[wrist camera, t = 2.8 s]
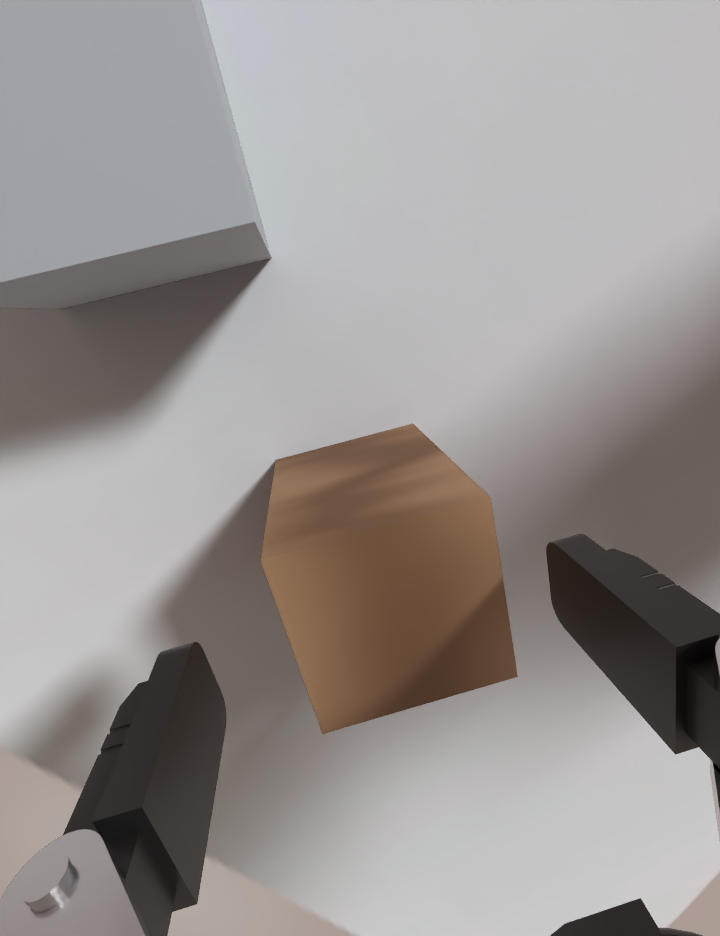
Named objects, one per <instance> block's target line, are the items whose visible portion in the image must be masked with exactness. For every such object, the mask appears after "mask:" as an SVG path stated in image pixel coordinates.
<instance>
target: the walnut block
mask: <svg viewBox="0 0 720 936" xmlns="http://www.w3.org/2000/svg"><path fill="white" fill-rule="evenodd" d="M260 561H261V563H262V566H263V569H264V572H265V575H266V577H267V580H268V583H269V586H270V589H271V591H272V594H273V597H274V600H275V603H276V605H277V608H278V611H279V614H280V617H281V619H282V622H283V625H284V628H285V630H286V633H287V636H288V639H289V642H290V644H291V647H292V650H293V653H294V656H295V658H296V661H297V664H298V667H299V670H300V672H301V675H302V678H303V681H304V684H305V686H306V689H307V692H308V695H309V697H310V700H311V703H312V706H313V709H314V711H315V714H316V717H317V720H318V723H319V725H320V728H321V731H322V734H324V733H327V732H331V731H334V730H338V729H341V728H344V727H348V726H351V725H355V724H358V723H361V722H365V721H368V720H372V719H375V718H378V717H382V716H385V715H389V714H392V713H395V712H399V711H402V710H406V709H409V708H413V707H416V706H419V705H423V704H426V703H430V702H433V701H436V700H440V699H443V698H447V697H450V696H453V695H457V694H460V693H464V692H467V691H470V690H474V689H477V688H481V687H484V686H487V685H491V684H494V683H498V682H501V681H504V680H508V679H511V678H515V677H518V676H517V670H516V663H515V656H514V650H513V643H512V637H511V630H510V624H509V617H508V610H507V604H506V597H505V591H504V584H503V577H502V571H501V564H500V558H499V551H498V544H497V538H496V531H495V525H494V518H493V511H492V505H491V498H490V496H489V495H488V494H487V493H486V492H485V491H484V490H482V489H481V488H480V487H479V486H478V485H477V484H476V483H475V482H474V481H473V480H472V479H471V478H470V477H469V476H468V475H467V474H466V473H464V472H463V471H462V470H461V469H460V468H459V467H458V466H457V465H456V464H455V463H454V462H453V461H452V460H451V459H450V458H449V457H448V456H447V455H445V454H444V453H443V452H442V451H441V450H440V449H439V448H438V447H437V446H436V445H435V444H434V443H433V442H432V441H431V440H430V439H429V438H428V437H426V436H425V435H424V434H423V433H422V432H421V431H420V430H419V429H418V428H417V427H416V426H415V425H414V424H410V425H406V426H402V427H398V428H395V429H391V430H387V431H383V432H380V433H376V434H372V435H368V436H365V437H361V438H357V439H353V440H350V441H346V442H342V443H338V444H334V445H331V446H327V447H323V448H319V449H316V450H312V451H308V452H304V453H301V454H297V455H293V456H289V457H286V458H282V459H278V460H276V462H275V468H274V475H273V481H272V488H271V494H270V501H269V507H268V514H267V520H266V527H265V533H264V540H263V546H262V553H261V559H260Z"/></svg>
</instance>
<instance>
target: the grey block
mask: <svg viewBox="0 0 720 936" xmlns="http://www.w3.org/2000/svg"><path fill="white" fill-rule="evenodd" d="M270 258H271V254H270V251H269V247H268V243H267V240H266V236H265V232H264V229H263V225H262V221H261V218H260V214H259V210H258V207H257V203H256V199H255V196H254V192H253V188H252V185H251V181H250V177H249V174H248V170H247V167H246V163H245V159H244V156H243V152H242V148H241V145H240V141H239V137H238V134H237V130H236V126H235V123H234V119H233V115H232V112H231V108H230V104H229V101H228V97H227V93H226V90H225V86H224V82H223V79H222V75H221V71H220V68H219V64H218V60H217V57H216V53H215V49H214V46H213V42H212V38H211V35H210V31H209V27H208V24H207V20H206V17H205V13H204V9H203V6H202V2H201V0H0V308H24V309H63V308H67V307H72V306H76V305H80V304H84V303H88V302H92V301H96V300H100V299H105V298H109V297H113V296H117V295H121V294H125V293H129V292H133V291H138V290H142V289H146V288H150V287H154V286H158V285H162V284H166V283H171V282H175V281H179V280H183V279H187V278H191V277H195V276H199V275H204V274H208V273H212V272H216V271H220V270H224V269H228V268H233V267H237V266H241V265H245V264H249V263H253V262H257V261H261V260H266V259H270Z"/></svg>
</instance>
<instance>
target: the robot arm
mask: <svg viewBox="0 0 720 936" xmlns="http://www.w3.org/2000/svg"><path fill="white" fill-rule="evenodd" d="M546 553H547V563H548V572H549V582H550V591H551V600H552V605H553V608H554V611H555V613H556V615H557V617H558V619H559V621H560V623H561V624H562V626H563V627H564V628H565V629H566V630H567V632H568V633H569V634H570V635H571V636H572V637H573V638H574V639H575V641H576V642H577V643H578V644H579V645H580V646H581V647H582V649H583V650H584V651H585V652H586V653H587V654H588V655H589V657H590V658H591V659H592V660H593V661H594V662H595V663H596V665H597V666H598V667H599V668H600V669H601V670H602V671H603V672H604V674H605V675H606V676H607V677H608V678H609V679H610V680H611V682H612V683H613V684H614V685H615V686H616V687H617V688H618V690H619V691H620V692H621V693H622V694H623V695H624V696H625V698H626V699H627V700H628V701H629V702H630V703H631V704H632V706H633V707H634V708H635V709H636V710H637V711H638V712H639V713H640V715H641V716H642V717H643V718H644V719H645V720H646V721H647V723H648V724H649V725H650V726H651V727H652V728H653V729H654V731H655V732H656V733H657V734H658V735H659V736H660V737H661V739H662V740H663V741H664V742H665V743H666V744H667V745H668V747H669V748H670V749H671V750H672V751H673V752H674V753H675V754H678V753H681V752H685V751H688V750H691V749H694V748H697V747H700V749H701V750H702V751H703V752H704V753H705V754H706V755H707V756H708V757H709V758H710V759H711V761H710V774H711V781H712V788H713V796H714V803H715V810H716V818H717V825H718V832H719V840H720V614H719V613H717V612H716V611H715V610H713V609H712V608H710V607H709V606H707V605H706V604H704V603H703V602H702V601H700V600H699V599H697V598H696V597H694V596H693V595H691V594H690V593H689V592H687V591H686V590H684V589H683V588H681V587H680V586H676V585H675V584H674V582H673V581H671V580H670V579H668V578H667V577H666V576H664V575H663V574H659V573H658V571H657V570H655V569H654V568H653V567H651V566H650V565H648V564H647V563H645V562H644V561H642V560H641V559H640V558H638V557H635V556H632V555H630V554H627V553H624V552H621V551H618V550H616V549H609V550H605V549H603V548H602V547H600V546H599V545H598V544H596V543H595V542H594V541H592V540H591V539H590V538H588V537H587V536H585V535H583V534H578V535H575V536H571V537H568V538H564V539H561V540H557V541H554V542H550V543H548V545H547V549H546ZM225 728H226V708H225V702H224V698H223V695H222V693H221V690H220V688H219V686H218V683H217V681H216V679H215V676H214V674H213V672H212V669H211V667H210V665H209V662H208V660H207V658H206V655H205V653H204V651H203V649H202V647H201V645H200V644H199V643H197V642H194V643H191V644H187V645H184V646H180V647H177V648H173V649H170V650H166V651H163V652H161V653H160V654H159V655H158V657H157V659H156V662H155V665H154V667H153V670H152V672H151V675H150V677H149V680H148V681H146V682H142V683H139V684H138V685H137V686H136V687H135V689H134V690H133V691H132V692H131V693H130V695H129V696H128V697H127V698H126V700H125V701H124V702H123V703H122V704H121V706H120V707H119V710H118V712H117V714H116V716H115V719H114V721H113V723H112V725H111V728H110V734H107V737H106V739H105V741H104V743H103V746H102V748H101V754H100V755H98V757H97V759H96V762H95V764H94V766H93V768H92V771H91V773H90V775H89V777H88V780H87V782H86V784H85V786H84V789H83V791H82V793H81V795H80V798H79V800H78V802H77V804H76V807H75V809H74V812H73V814H72V816H71V818H70V820H69V823H68V825H67V827H66V829H65V832H64V834H63V836H61V837H59V838H57V839H56V840H54V841H52V842H51V843H50V844H48V845H47V846H45V847H44V848H43V849H41V850H40V851H39V852H38V853H37V854H36V855H35V856H33V857H32V858H31V859H30V860H29V861H28V862H27V863H26V864H25V865H24V866H23V867H22V869H21V870H20V871H19V872H18V874H17V875H16V876H15V877H14V879H13V880H12V881H11V883H10V884H9V886H8V887H7V889H6V891H5V892H4V894H3V895H2V897H1V900H0V936H167V934H168V929H169V924H170V919H171V914H172V912H173V911H176V910H179V909H182V908H186V907H189V906H192V905H195V904H197V901H198V895H199V889H200V883H201V877H202V871H203V864H204V858H205V852H206V846H207V840H208V833H209V827H210V821H211V815H212V809H213V803H214V796H215V790H216V784H217V778H218V772H219V765H220V759H221V753H222V747H223V741H224V735H225ZM551 936H702V935H699V934H696V933H692V932H687V931H682V930H676V929H671V928H658V927H657V925H656V923H655V922H654V920H653V918H652V917H651V915H650V913H649V912H648V910H647V908H646V907H645V905H644V903H643V902H642V900H641V898H640V899H637V900H634V901H631V902H628V903H625V904H622V905H619V906H616V907H613V908H610V909H607V910H604V911H601V912H598V913H596V914H593V915H590V916H587V917H584V918H581V919H578V920H575V921H572V922H569V923H566V924H564V925H563V926H562V927H560V928H559V929H558V930H557V931H555V932H554V933H553V934H552V935H551Z"/></svg>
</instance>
